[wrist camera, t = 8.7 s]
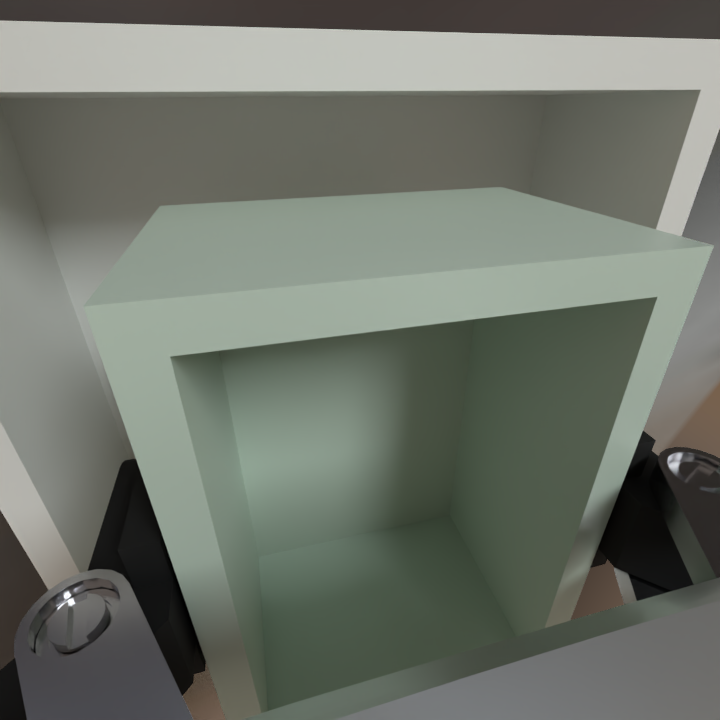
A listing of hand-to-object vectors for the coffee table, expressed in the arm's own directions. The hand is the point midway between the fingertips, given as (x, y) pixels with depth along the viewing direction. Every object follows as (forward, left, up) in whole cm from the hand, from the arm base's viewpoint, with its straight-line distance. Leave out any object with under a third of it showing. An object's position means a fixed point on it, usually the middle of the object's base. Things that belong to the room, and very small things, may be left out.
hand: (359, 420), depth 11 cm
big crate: (0, 0, -6) cm, 6 cm away
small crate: (0, 0, -1) cm, 1 cm away
